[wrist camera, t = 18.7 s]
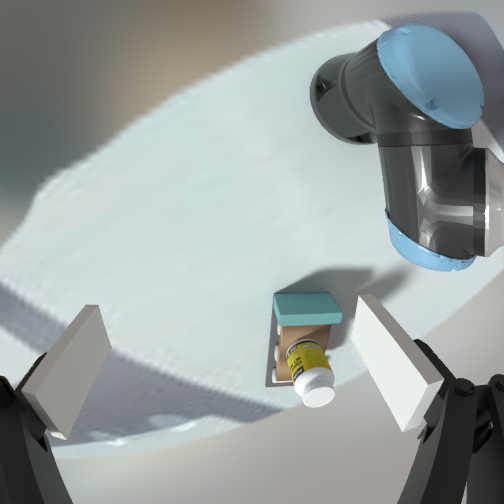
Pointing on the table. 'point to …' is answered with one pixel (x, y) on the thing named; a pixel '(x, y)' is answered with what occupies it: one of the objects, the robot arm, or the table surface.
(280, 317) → the roller bed
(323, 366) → the pill bottle
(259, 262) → the table surface
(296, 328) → the slab
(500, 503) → the robot arm
